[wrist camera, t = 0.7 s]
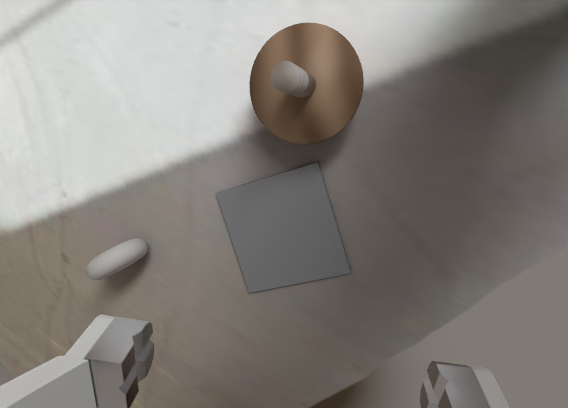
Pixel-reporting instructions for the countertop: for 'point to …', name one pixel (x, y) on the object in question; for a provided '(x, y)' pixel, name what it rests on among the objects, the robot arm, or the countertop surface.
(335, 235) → the rubber mat
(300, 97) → the walnut lid
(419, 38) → the countertop surface
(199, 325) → the countertop surface
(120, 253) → the white torus ring
